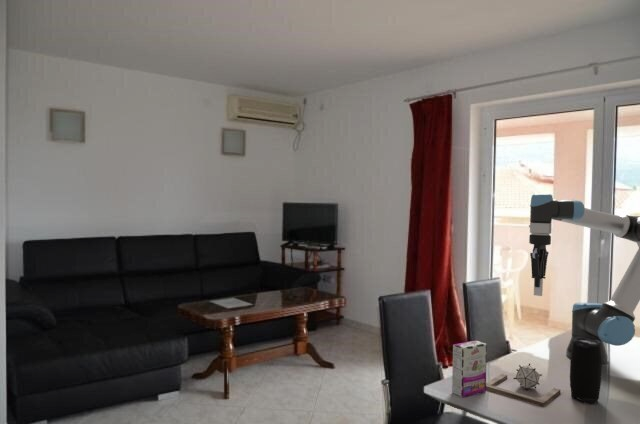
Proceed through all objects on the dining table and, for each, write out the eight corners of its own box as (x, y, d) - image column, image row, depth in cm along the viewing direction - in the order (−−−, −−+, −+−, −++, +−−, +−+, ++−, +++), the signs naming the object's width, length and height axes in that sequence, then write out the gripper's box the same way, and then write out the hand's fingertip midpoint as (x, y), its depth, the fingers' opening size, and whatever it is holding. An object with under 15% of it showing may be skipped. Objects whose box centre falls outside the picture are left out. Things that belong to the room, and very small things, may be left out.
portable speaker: (604, 400, 157) (607, 341, 156) (591, 407, 151) (594, 345, 151) (577, 391, 164) (580, 334, 163) (563, 398, 158) (566, 338, 158)
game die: (532, 400, 165) (549, 383, 159) (509, 390, 165) (524, 373, 159) (530, 380, 172) (545, 363, 166) (507, 370, 172) (522, 353, 167)
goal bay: (501, 377, 176) (501, 373, 176) (560, 393, 162) (560, 389, 162) (482, 388, 164) (482, 384, 164) (543, 406, 151) (543, 403, 151)
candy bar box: (474, 387, 165) (476, 339, 165) (486, 392, 161) (488, 343, 161) (450, 392, 160) (452, 343, 160) (461, 398, 156) (463, 347, 155)
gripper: (536, 233, 192) (534, 291, 193) (523, 234, 183) (521, 295, 183) (556, 234, 187) (554, 294, 188) (544, 235, 178) (542, 299, 178)
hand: (537, 295), depth 186 cm, fingers closed
